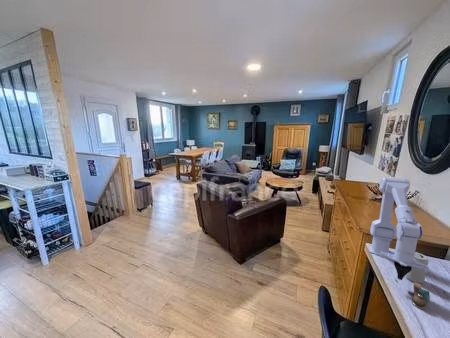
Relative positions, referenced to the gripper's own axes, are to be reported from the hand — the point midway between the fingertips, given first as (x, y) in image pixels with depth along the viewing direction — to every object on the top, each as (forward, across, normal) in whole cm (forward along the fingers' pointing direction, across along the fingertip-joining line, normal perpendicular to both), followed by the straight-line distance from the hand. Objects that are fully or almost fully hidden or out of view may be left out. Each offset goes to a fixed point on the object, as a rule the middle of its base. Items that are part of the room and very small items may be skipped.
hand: (399, 278), depth 79 cm
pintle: (+4, +6, -7) cm, 10 cm away
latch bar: (+3, +6, -3) cm, 7 cm away
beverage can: (+4, +5, +10) cm, 12 cm away
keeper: (+4, +7, -3) cm, 9 cm away
